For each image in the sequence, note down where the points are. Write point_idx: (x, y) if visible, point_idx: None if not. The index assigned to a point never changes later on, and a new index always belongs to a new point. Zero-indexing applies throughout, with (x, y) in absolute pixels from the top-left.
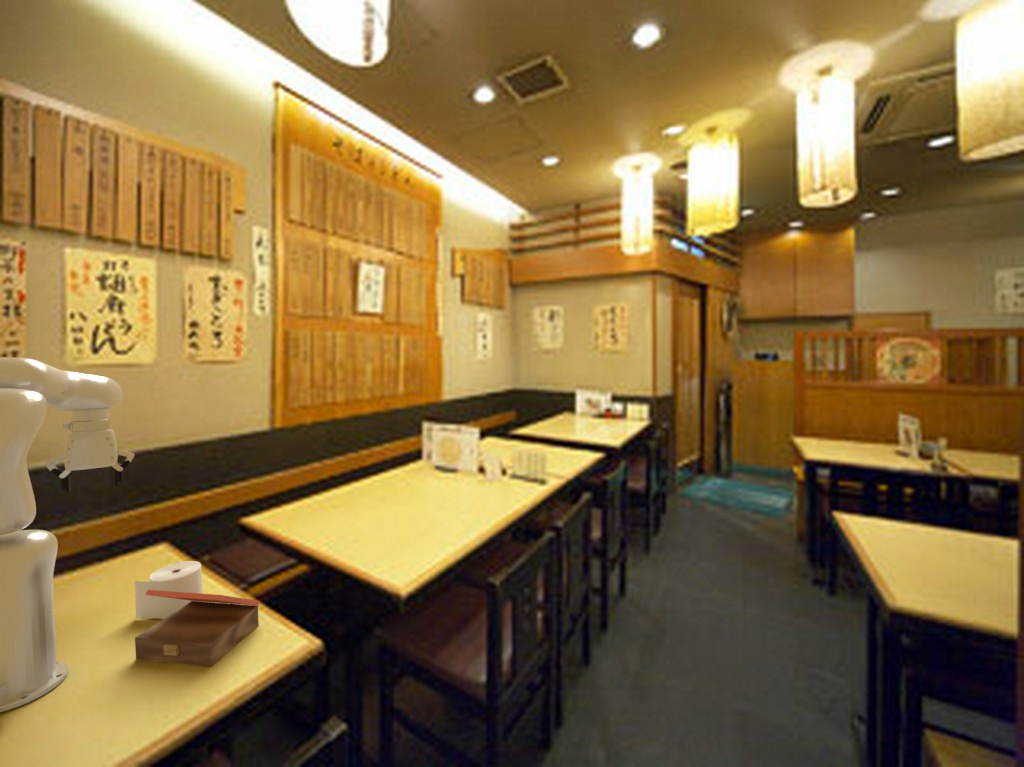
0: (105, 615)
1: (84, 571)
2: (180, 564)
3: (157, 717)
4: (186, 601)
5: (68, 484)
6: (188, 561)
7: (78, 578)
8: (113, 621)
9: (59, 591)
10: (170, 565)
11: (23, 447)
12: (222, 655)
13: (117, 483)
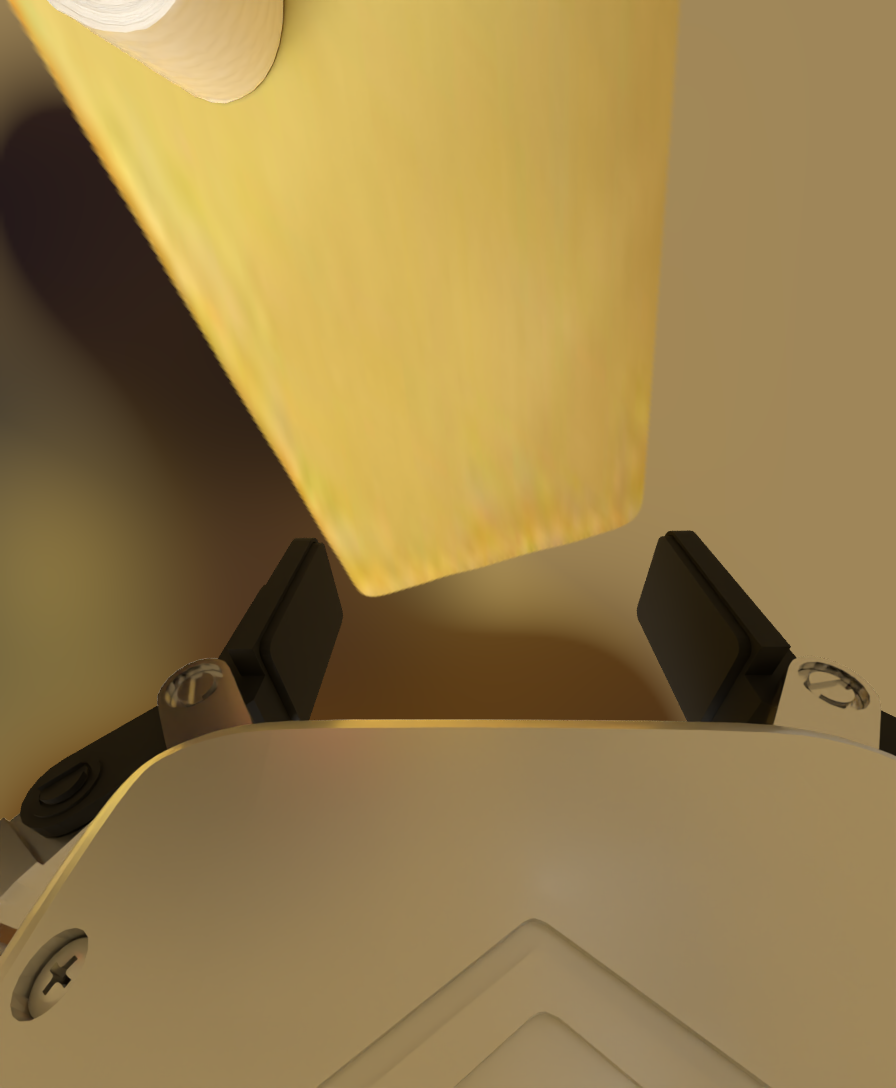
0: (435, 134)
1: (509, 550)
2: None
3: None
4: None
5: (702, 584)
6: (59, 5)
7: (518, 515)
8: (403, 30)
9: (553, 458)
10: (140, 9)
11: None
12: None
13: (297, 547)
